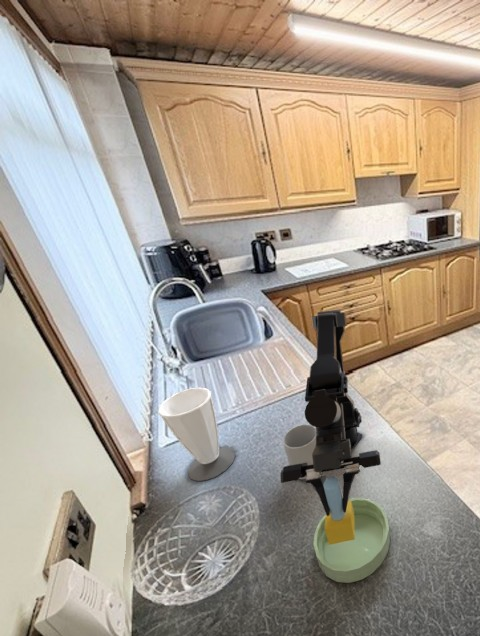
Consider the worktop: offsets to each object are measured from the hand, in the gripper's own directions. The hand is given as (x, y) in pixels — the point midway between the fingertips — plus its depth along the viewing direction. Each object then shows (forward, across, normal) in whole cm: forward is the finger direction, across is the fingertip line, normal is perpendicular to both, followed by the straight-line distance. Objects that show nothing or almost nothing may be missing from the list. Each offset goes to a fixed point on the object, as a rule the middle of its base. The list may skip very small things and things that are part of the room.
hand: (336, 513), depth 66 cm
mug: (-9, -9, +28) cm, 31 cm away
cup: (-13, -37, +32) cm, 51 cm away
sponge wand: (+4, 0, +6) cm, 7 cm away
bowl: (+8, +2, +10) cm, 13 cm away
